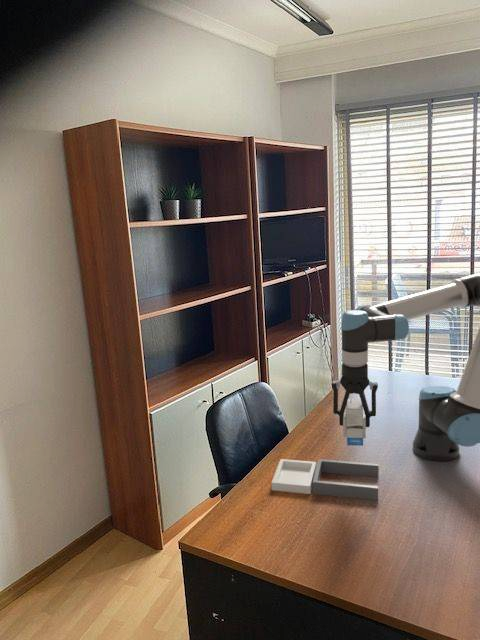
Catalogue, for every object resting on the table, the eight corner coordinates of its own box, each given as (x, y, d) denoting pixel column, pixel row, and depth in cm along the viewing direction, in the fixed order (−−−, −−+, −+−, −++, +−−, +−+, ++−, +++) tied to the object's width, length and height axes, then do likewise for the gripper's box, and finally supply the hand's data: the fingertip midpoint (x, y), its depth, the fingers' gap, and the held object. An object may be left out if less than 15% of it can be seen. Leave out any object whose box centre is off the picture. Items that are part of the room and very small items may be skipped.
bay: (378, 475, 164) (378, 464, 164) (378, 500, 151) (378, 488, 150) (318, 470, 170) (318, 459, 169) (313, 493, 156) (312, 482, 155)
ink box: (363, 446, 151) (363, 409, 149) (346, 445, 152) (346, 408, 150) (362, 433, 160) (362, 398, 157) (346, 432, 161) (346, 397, 158)
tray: (316, 469, 170) (316, 461, 169) (310, 494, 156) (310, 486, 155) (280, 466, 173) (280, 458, 173) (271, 490, 159) (271, 482, 159)
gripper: (386, 360, 152) (385, 432, 157) (324, 358, 156) (325, 428, 162) (386, 368, 145) (385, 443, 150) (322, 365, 149) (323, 439, 155)
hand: (354, 435), depth 156 cm, fingers closed on ink box, 5 cm apart
